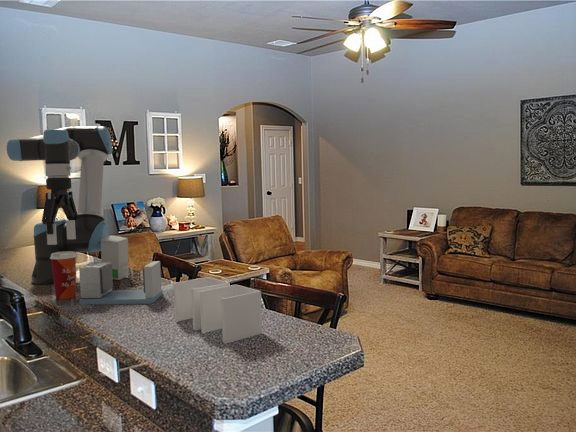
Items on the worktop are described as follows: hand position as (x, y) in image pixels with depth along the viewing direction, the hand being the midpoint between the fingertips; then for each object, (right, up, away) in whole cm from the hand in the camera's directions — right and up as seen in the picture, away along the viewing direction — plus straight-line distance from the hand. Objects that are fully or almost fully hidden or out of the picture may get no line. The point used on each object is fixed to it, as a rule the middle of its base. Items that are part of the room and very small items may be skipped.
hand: (62, 241), depth 171 cm
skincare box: (+7, -15, +32) cm, 36 cm away
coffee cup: (0, -19, +2) cm, 19 cm away
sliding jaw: (+13, -17, -3) cm, 21 cm away
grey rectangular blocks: (+56, -21, -35) cm, 69 cm away
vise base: (+21, -19, -3) cm, 28 cm away
